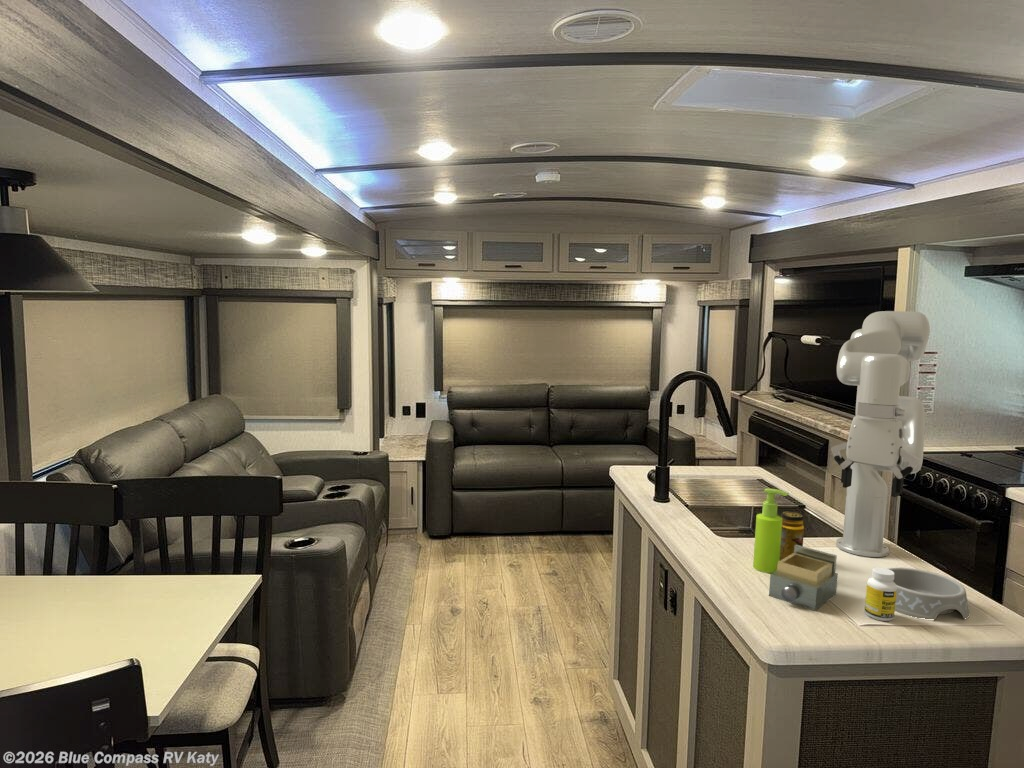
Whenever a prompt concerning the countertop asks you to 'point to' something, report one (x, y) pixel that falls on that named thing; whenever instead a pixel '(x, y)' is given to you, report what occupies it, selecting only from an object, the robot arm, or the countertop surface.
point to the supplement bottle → (881, 595)
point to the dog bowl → (928, 594)
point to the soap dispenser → (768, 534)
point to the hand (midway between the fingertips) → (870, 491)
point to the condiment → (791, 533)
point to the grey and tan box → (805, 578)
